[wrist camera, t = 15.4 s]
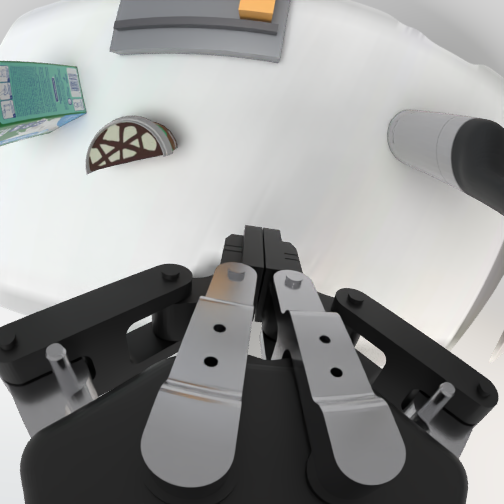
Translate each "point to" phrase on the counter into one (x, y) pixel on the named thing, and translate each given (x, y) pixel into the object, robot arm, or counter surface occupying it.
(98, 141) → the food container
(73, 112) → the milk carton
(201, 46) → the switch plate
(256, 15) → the switch knob
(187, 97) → the counter surface
